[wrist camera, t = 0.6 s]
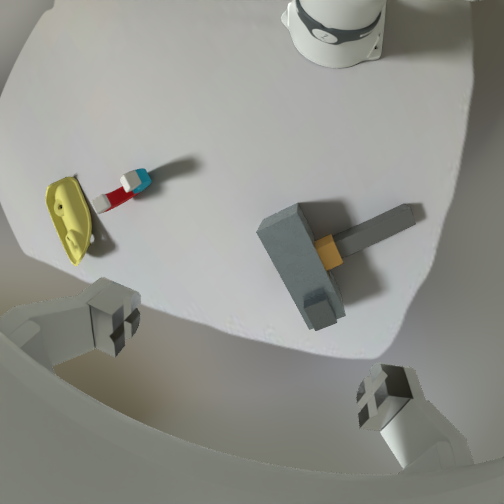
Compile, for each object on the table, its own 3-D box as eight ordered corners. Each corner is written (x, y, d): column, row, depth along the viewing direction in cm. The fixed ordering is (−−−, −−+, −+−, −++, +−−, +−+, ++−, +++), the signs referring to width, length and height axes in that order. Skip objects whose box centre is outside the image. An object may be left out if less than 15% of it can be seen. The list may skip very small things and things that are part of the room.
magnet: (156, 165, 51) (128, 170, 42) (162, 177, 52) (135, 184, 43) (116, 194, 55) (87, 204, 45) (122, 205, 55) (93, 217, 46)
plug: (402, 200, 46) (410, 205, 42) (409, 221, 47) (418, 228, 43) (300, 247, 52) (300, 256, 48) (310, 267, 53) (311, 277, 49)
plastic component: (44, 200, 56) (48, 183, 49) (68, 190, 62) (74, 173, 55) (74, 269, 60) (80, 261, 53) (97, 256, 65) (106, 247, 58)
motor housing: (297, 202, 49) (296, 216, 40) (341, 293, 54) (347, 323, 44) (263, 219, 51) (253, 236, 42) (309, 306, 56) (309, 337, 46)
